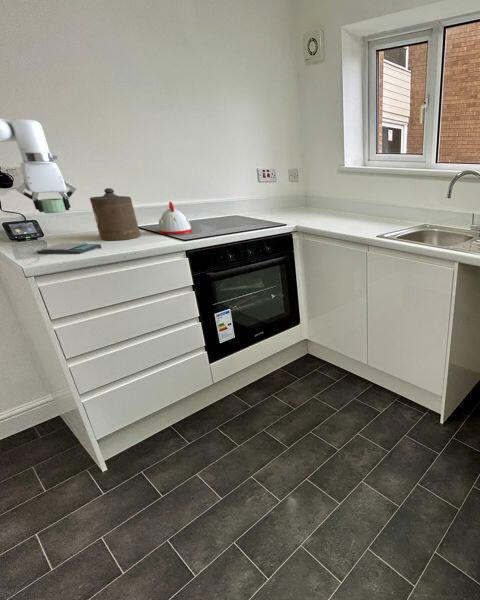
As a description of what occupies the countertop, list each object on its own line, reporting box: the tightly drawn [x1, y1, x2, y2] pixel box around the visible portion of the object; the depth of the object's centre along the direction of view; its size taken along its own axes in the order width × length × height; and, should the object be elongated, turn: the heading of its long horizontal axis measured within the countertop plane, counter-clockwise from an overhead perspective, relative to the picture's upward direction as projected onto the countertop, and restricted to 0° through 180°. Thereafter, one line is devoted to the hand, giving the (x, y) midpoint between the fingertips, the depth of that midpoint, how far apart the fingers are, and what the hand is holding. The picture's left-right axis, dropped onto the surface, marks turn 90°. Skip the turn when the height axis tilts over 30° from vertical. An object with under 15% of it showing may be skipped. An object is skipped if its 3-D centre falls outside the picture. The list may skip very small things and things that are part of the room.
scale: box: [36, 242, 102, 255], centre depth 134 cm, size 14×12×3 cm
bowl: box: [38, 198, 67, 214], centre depth 128 cm, size 6×6×5 cm
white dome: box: [158, 201, 193, 236], centre depth 176 cm, size 14×14×15 cm
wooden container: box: [89, 187, 141, 241], centre depth 159 cm, size 15×15×22 cm
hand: (54, 210), depth 129 cm, fingers closed on bowl, 6 cm apart
